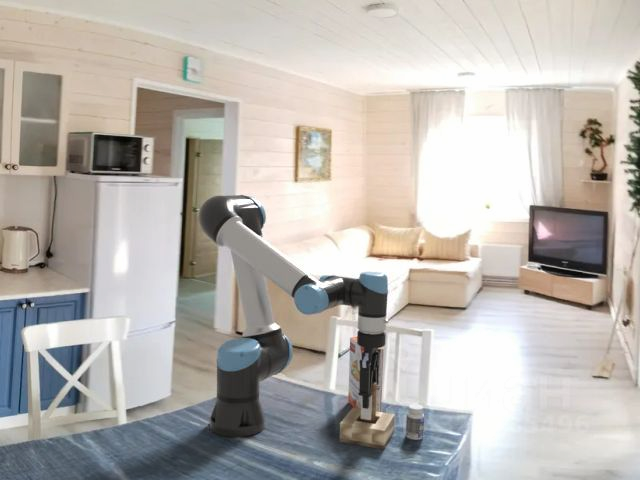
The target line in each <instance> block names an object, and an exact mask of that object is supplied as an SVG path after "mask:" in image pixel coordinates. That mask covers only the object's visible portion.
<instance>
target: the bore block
mask: <svg viewBox="0 0 640 480" xmlns="http://www.w3.org/2000/svg"><path fill="white" fill-rule="evenodd" d="M395 417H396V414H395V413H390V412H389V413H387V412H382V411H381V412H378V411H376V421H375V424H372V423H366V422H361V409H359V408H354V407H352V408H351V410H349V411H348V413H347V414H346V416H344V418H343V419H342V421H340V422H339V439H338V440H339V442H340V443H345V444H352V445H357V446H362V447H368V448H371V449H372V448H373V449H379V450H385V449H386V446H387V445H388V443H389V441H390V440H391V438H392V436H393V434H394V432H395V419H396V418H395Z"/></svg>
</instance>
